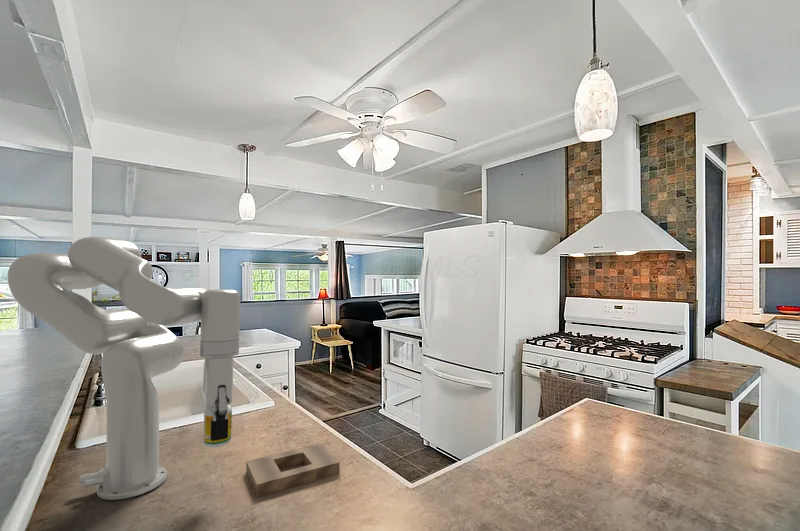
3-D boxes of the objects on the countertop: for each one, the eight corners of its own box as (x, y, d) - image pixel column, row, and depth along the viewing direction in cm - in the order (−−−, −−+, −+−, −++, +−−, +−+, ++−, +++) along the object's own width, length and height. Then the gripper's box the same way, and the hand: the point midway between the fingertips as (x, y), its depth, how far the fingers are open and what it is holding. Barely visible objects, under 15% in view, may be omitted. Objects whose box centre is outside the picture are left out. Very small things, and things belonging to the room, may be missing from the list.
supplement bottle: (200, 441, 84) (201, 396, 84) (226, 435, 87) (228, 391, 87) (206, 450, 80) (208, 402, 80) (234, 443, 83) (235, 397, 83)
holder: (256, 497, 80) (256, 484, 81) (246, 472, 91) (246, 461, 91) (339, 473, 90) (339, 462, 90) (321, 453, 100) (321, 443, 100)
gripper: (197, 342, 89) (194, 423, 89) (203, 357, 74) (200, 454, 74) (232, 340, 93) (230, 417, 93) (245, 353, 78) (243, 445, 78)
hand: (217, 432), depth 83 cm, fingers closed on supplement bottle, 5 cm apart
